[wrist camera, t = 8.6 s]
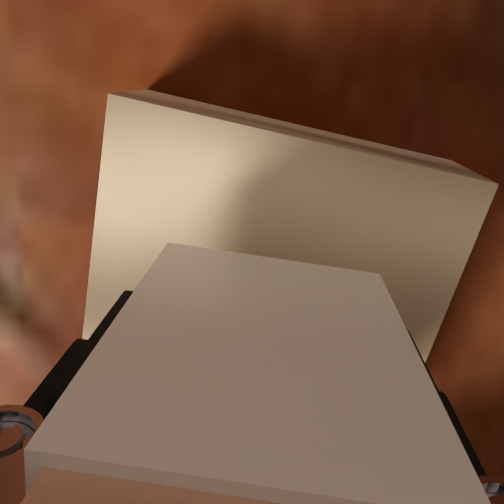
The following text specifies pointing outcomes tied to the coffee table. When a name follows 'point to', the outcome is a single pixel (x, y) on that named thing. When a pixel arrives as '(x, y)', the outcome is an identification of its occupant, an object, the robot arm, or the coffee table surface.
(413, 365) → the peach rectangular block
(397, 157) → the block
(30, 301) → the coffee table surface
